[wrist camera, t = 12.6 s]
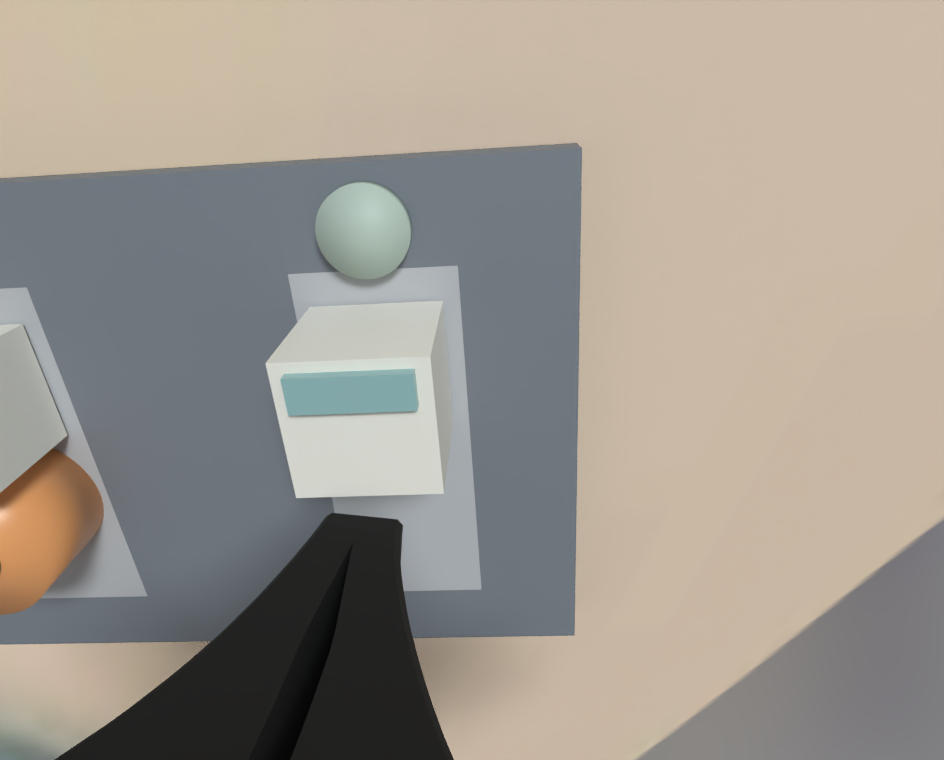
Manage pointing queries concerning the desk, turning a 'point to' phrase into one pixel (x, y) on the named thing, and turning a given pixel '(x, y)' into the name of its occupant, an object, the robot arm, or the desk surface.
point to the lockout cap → (44, 527)
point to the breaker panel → (249, 392)
